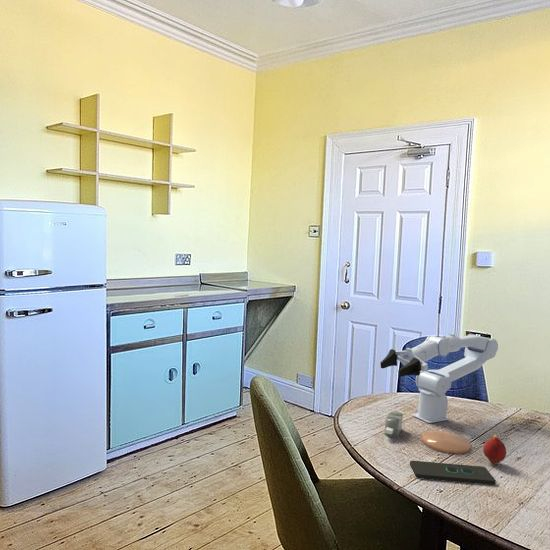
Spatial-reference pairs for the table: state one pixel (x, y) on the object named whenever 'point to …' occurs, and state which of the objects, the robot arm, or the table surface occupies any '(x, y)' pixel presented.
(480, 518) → the table surface
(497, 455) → the onion
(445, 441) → the plate
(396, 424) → the connector
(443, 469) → the smart home device
